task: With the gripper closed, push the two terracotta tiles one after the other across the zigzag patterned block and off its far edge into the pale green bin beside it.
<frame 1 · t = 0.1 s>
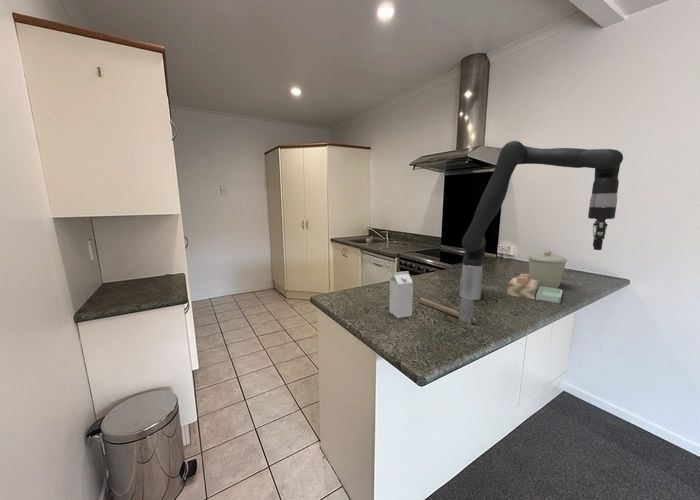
hand: (596, 248, 104), 29 cm above the countertop, tool pointing down, fingers open, 8 cm apart
milk carton: (400, 314, 117), on the countertop
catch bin: (549, 297, 136), on the countertop
zigzag patterned block: (522, 292, 143), on the countertop
canister: (544, 287, 154), on the countertop
terracotta tile a: (522, 282, 141), point 6 cm above the countertop, touching zigzag patterned block
terracotta tile b: (524, 280, 146), point 6 cm above the countertop, touching zigzag patterned block
long-handled mallet: (444, 313, 119), on the countertop
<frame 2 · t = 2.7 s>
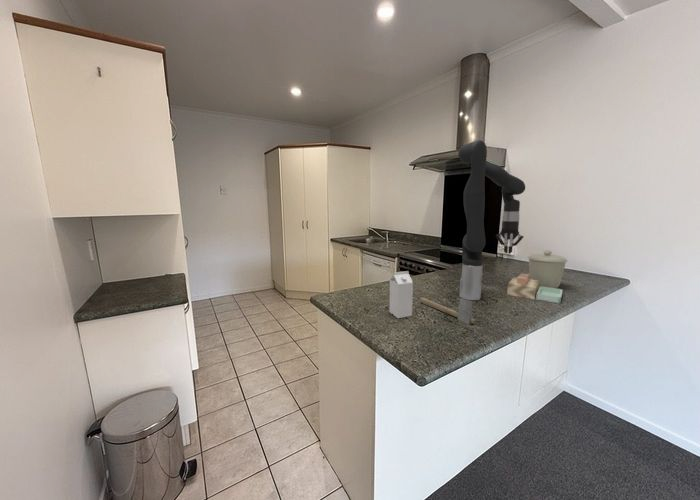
hand: (507, 253, 143), 21 cm above the countertop, tool pointing down, fingers closed
nothing on the countertop moved.
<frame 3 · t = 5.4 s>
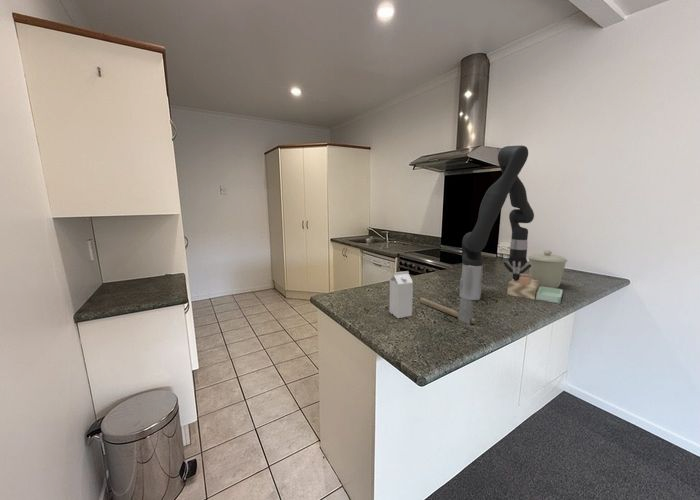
hand: (515, 280, 143), 7 cm above the countertop, tool pointing down, fingers closed
terracotta tile a: (524, 283, 140), point 6 cm above the countertop, touching gripper
everything else where it was.
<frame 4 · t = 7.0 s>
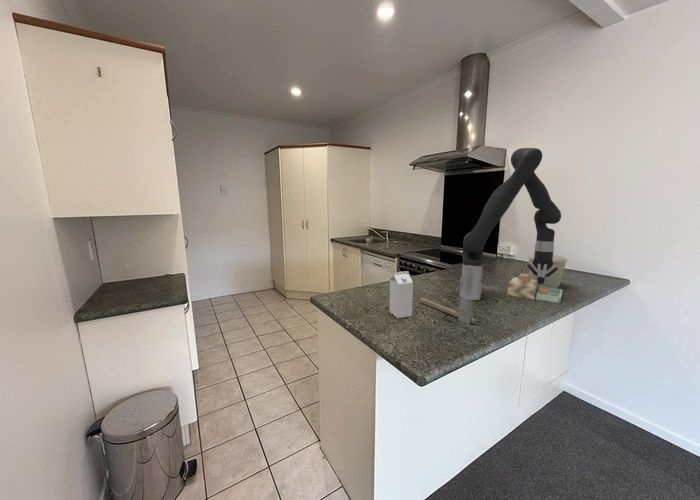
hand: (540, 283, 136), 7 cm above the countertop, tool pointing down, fingers closed
terracotta tile a: (540, 292, 136), point 3 cm above the countertop, tilted 90°, touching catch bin
everything else where it was.
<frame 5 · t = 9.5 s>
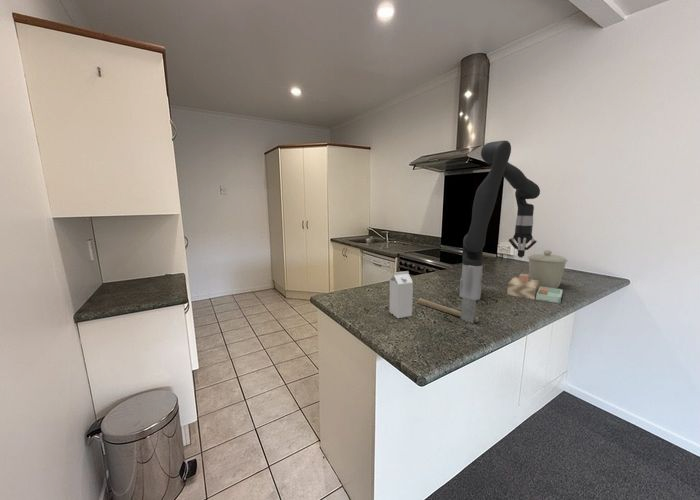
hand: (520, 257, 143), 19 cm above the countertop, tool pointing down, fingers closed
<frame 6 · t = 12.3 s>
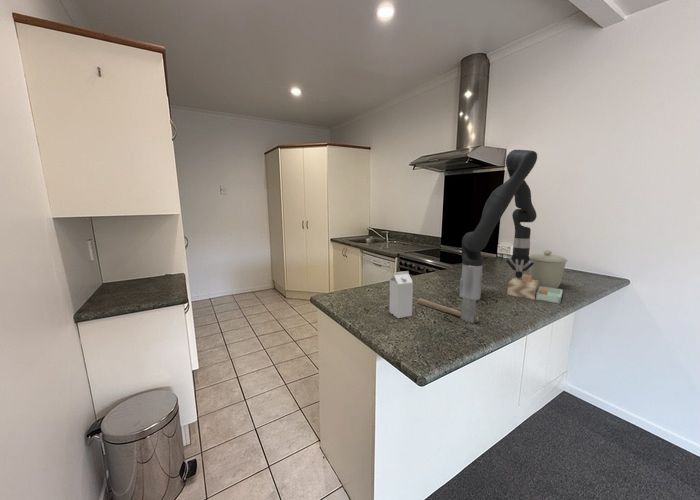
hand: (518, 277, 147), 7 cm above the countertop, tool pointing down, fingers closed
terracotta tile b: (526, 280, 145), point 6 cm above the countertop, touching gripper
everything else where it was.
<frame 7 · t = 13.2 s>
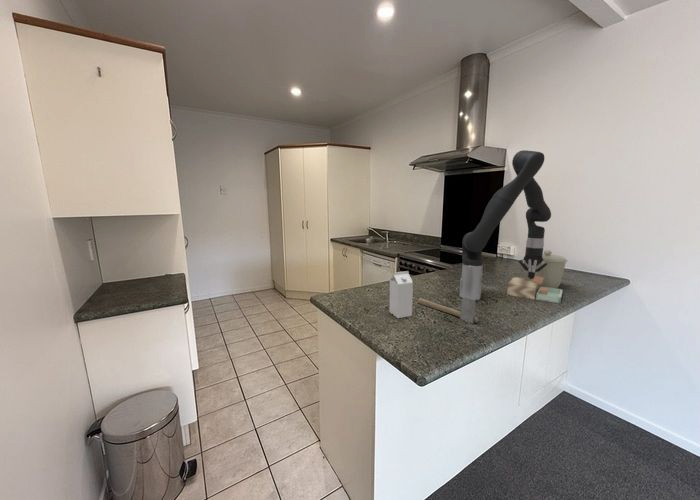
hand: (531, 278, 144), 7 cm above the countertop, tool pointing down, fingers closed
terracotta tile b: (537, 281, 142), point 6 cm above the countertop, tilted 16°, touching gripper, zigzag patterned block
everything else where it was.
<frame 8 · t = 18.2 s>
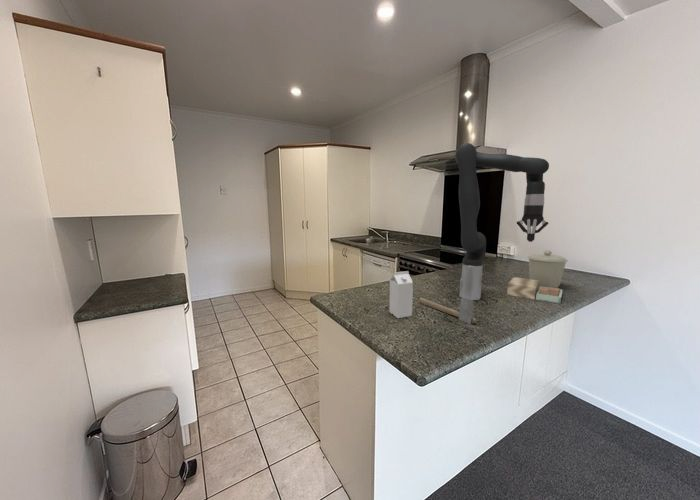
hand: (530, 241, 128), 29 cm above the countertop, tool pointing down, fingers closed
terracotta tile b: (554, 288, 138), point 4 cm above the countertop, tilted 180°, touching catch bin
at the end: terracotta tile a inside the target area on the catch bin (4.3 cm from its centre), point 2.6 cm above the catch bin's base; terracotta tile b inside the target area on the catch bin (4.4 cm from its centre), point 3.6 cm above the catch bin's base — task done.
